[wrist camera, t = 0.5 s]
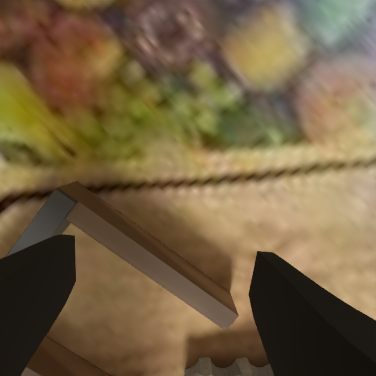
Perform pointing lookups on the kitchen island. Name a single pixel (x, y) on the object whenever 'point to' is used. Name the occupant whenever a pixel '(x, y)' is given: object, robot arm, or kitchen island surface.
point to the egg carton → (228, 369)
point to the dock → (126, 249)
